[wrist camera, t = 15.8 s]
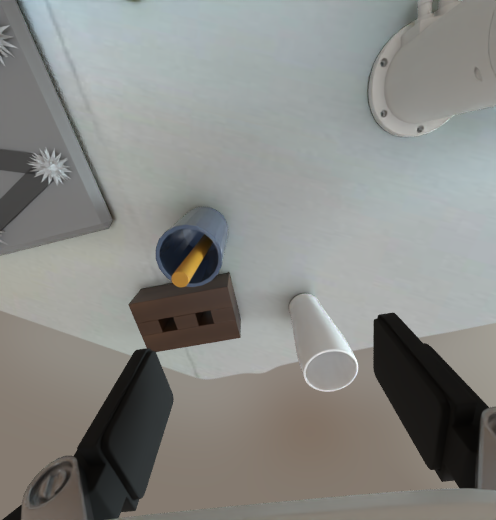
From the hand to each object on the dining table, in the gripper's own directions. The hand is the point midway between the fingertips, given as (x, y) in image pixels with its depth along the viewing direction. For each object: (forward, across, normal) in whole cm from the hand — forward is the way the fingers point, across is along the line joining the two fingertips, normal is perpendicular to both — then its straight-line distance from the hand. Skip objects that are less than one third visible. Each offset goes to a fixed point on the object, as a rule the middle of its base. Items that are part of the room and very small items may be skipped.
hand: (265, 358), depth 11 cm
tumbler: (+30, +8, +1) cm, 31 cm away
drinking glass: (+30, -6, +17) cm, 35 cm away
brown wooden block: (+29, +13, +14) cm, 35 cm away
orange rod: (+29, +6, +1) cm, 30 cm away
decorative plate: (+29, +32, -17) cm, 47 cm away
